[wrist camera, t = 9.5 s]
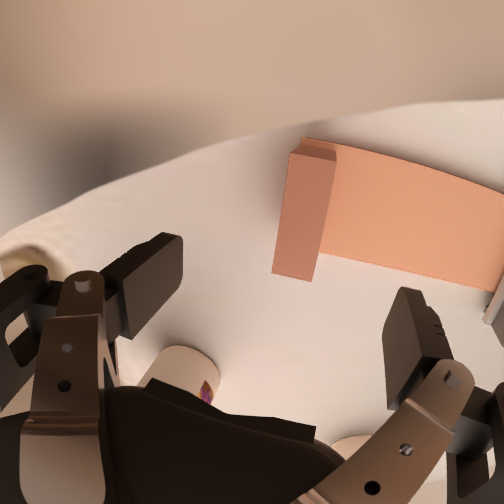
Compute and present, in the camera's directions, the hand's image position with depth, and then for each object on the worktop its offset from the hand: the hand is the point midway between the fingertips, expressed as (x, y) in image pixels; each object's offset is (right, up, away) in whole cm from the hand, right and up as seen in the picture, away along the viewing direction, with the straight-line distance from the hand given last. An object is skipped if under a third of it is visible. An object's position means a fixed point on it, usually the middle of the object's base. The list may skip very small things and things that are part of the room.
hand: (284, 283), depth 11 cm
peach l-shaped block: (+12, +3, +9) cm, 15 cm away
